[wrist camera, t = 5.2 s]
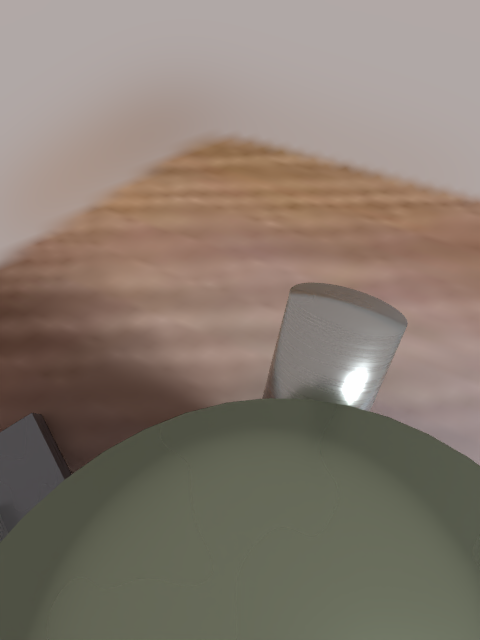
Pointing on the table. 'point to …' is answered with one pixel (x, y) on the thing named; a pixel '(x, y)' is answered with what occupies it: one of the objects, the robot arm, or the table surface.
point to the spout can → (263, 511)
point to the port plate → (27, 469)
